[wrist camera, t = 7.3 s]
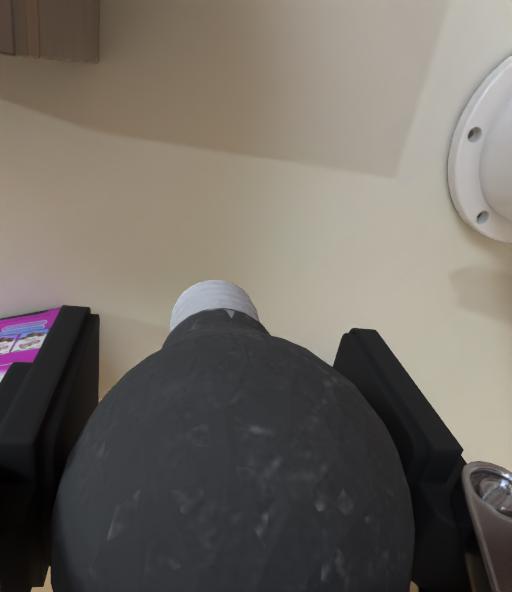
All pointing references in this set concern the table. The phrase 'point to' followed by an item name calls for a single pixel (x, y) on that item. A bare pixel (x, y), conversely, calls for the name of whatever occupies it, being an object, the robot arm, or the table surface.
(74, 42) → the shelf
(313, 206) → the table surface
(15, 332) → the candy bar box
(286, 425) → the light bulb
